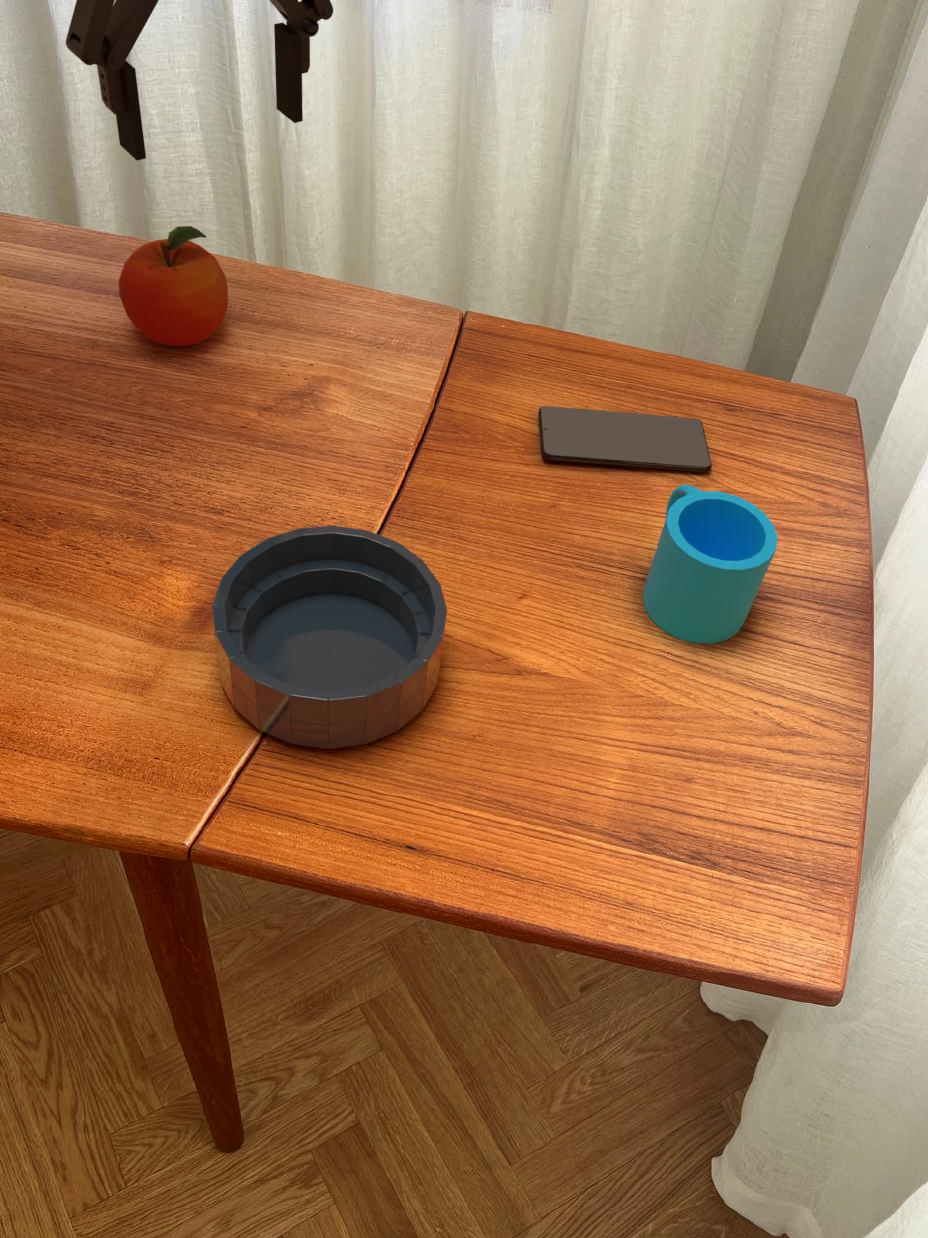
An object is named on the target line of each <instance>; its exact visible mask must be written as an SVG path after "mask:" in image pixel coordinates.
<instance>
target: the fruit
mask: <svg viewBox="0 0 928 1238" xmlns="http://www.w3.org/2000/svg"><path fill="white" fill-rule="evenodd" d="M199 238H207V236H206V234H204V233H203V232H202V231H201V230H199V229H198V228H196V227H193V225H192V226H191V225H180V226H179V225H178V226H176V227H175V228H173V229H172V230H170V231H169V232H168V236H167V238H162V239H156V240H153V241H150V242H147V243H144V244H143V245H141V246H139V247H137V249H135V250H134V252H132V254H130V256H129V257H128V258H127V259H126V260H125V262H124V265H123V266H122V270H121V273H120V276H119V278H118V294H119V298H120V300H121V304H122V306H123V309H124V312H125V314H126V316H127V317H128V319H129V320H130V322H131V323H132V325H133V326H134V327H135V328H136V329H137V330H138V331H140V332H141V333H142V334H143V335H144V336H145V337H147V338H148V339H149V340H151V341H153V342H155V343H157V344H160V345H164V346H170V347H186V346H192V345H196V344H199V343H201V342H204V341H206V340H207V339H209V338H210V337H211V336H212V335H214V333H215V332H216V331H217V330H218V329H219V328H220V326H221V324H222V322H223V321H224V318H225V316H226V313H227V311H228V305H229V304H228V303H229V302H228V301H229V287H228V282H227V277H226V274H225V272H224V271H223V269H222V267H221V266H220V264H219V261H218V260H217V258H216V256H214V255H213V254H212V253H210V252H209V251H208V250H207V249H205V248H204V247H203V246H201V245H200V244H197V243H196V242H194V241H193V240H194V239H195V240H196V239H199Z"/></svg>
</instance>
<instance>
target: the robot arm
mask: <svg viewBox="0 0 928 1238" xmlns="http://www.w3.org/2000/svg"><path fill="white" fill-rule="evenodd" d="M159 1H160V0H76V1H75V5H74V9H73V12H72V16H71V20H70V23H69V27H68V30H67V34H66V38H65V39H66V40H65V45H66V48H67V49H68V50H69V51H70V52H71V53H72V54H73V55H75V57H76V58H77V59H79V60H80V61H81V62H82V63H83V64H85V65H86V66H94V65H95V66H96V69H97V75H98V81H99V86H100V87H99V88H100V96H101V101H102V102H103V105H104V106H105V108H107V109H108V110H109V111H110V112H111V113H112V114H113V115H115V119H116V126H117V134H118V141H119V145H120V147H121V148H123V149H124V150H125V151H126V152H127V153H128V154H129V155H130V156H131V157H132V158H133V159H134V160H136V161H141V160H145V159H147V156H146V155H147V154H146V146H145V138H144V130H143V129H144V128H143V121H142V112H141V106H140V95H139V89H138V80H137V72H136V68H135V67H134V66H133V65H132V64H131V63H129V61H127V58H128V57H129V55H130V53H131V51H132V50H133V47H134V46H135V44H136V42H137V41H138V39H139V36H140V35H141V34H142V32H143V30H144V29H145V28H144V27H145V26H146V24H147V23H148V21H149V19H150V17H151V15H152V13H153V12H154V10H155V9H156V6H157V5H158V3H159ZM269 2H270V4H271V5H273V7H274V8H275V9H276V10H277V12H278V13H279V15H281V17H282V18H283V20H286V24H285V22H277V23H274V24H273V28H274V29H273V30H274V32H273V34H274V61H275V62H274V65H275V66H274V68H275V70H274V71H275V101H276V102H275V103H276V110H277V111H278V112H280V113H281V114H282V115H284V116H285V117H286V118H287V119H288V120H290V121H291V122H292V123H294V124H297V123H301V122H303V119H304V118H303V75H304V74H308V73H309V70H310V66H311V38H312V37H315V36H316V35H317V34H318V32H319V29H320V25H319V21H320V20H324V21H328V20H330V19H331V18H332V17H333V14H334V7H333V4H332V2H331V0H300V1H299V0H269Z"/></svg>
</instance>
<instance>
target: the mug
mask: <svg viewBox="0 0 928 1238" xmlns="http://www.w3.org/2000/svg"><path fill="white" fill-rule="evenodd" d="M665 511H666V512H665V521H664V524H663V527H662V530H661V533H660V537H659V540H658V543H657V546H656V549H655V551H654V554H653V558H652V562H651V564H650V568H649V571H648V574H647V578H646V579H645V583H644V587H643V591H642V596H641V597H642V601H643V606H644V610H645V612H646V613H647V614H648V616H649V618H650V619H651V621H652V622H653V623H654V624H656V626H658V627H659V628H660V629H661V630H662V631H663V632H665V633H667V634H669V635H671V636H673V637H674V638H676V639H678V640H681V641H685V642H689V643H693V644H700V645H701V644H702V645H703V644H706V645H712V644H713V645H714V644H717V643H721V642H725V641H728V640H729V639H731V638H732V637H734V636H736V635H737V634H738V633H739V631H741V629H742V627H743V625H744V624H745V622H746V621H747V618H748V615H749V613H750V610H751V608H752V606H753V604H754V602H755V599H756V597H757V594H758V593H759V590H760V587H761V585H762V583H763V581H764V578H765V576H766V573H767V572H768V569H769V567H770V564H771V562H772V560H773V558H774V556H775V553H776V551H777V546H778V539H779V537H778V534H777V530H776V528H775V525H774V523H773V522H772V521H771V519H770V518H769V517H768V515H767V514H766V512H764V511H762V510H761V508H759V507H757V506H756V505H755V504H754V503H752V502H750V501H748V500H746V499H744V498H743V497H740V496H738V495H736V494H735V495H734V494H732V493H727V492H724V491H723V492H722V491H715V490H713V491H712V490H701V489H699V488H698V487H696V486H694V485H691V484H690V485H689V484H681V485H679V486H678V487H676V488H675V489H673V490H672V492H671V494H670V496H669V498H668V500H667V505H666V510H665Z"/></svg>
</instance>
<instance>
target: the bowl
mask: <svg viewBox="0 0 928 1238" xmlns="http://www.w3.org/2000/svg"><path fill="white" fill-rule="evenodd" d="M211 607H212V609H211V610H212V618H213V628H214V630H213V631H214V638H215V646H216V655H217V656H216V657H217V664H218V674H219V681H220V685H221V686H222V688H223V690H224V692H225V694H226V696H227V698H228V700H229V701H230V703H231V705H232V706H233V708H234V710H236V711H237V712H238V713H239V714H240V715H241V716H243V717H244V718H245V719H246V720H247V721H248V722H249V723H250V724H252V726H254V727H255V728H256V729H257V730H259V731H261V732H263V733H265V734H267V735H270V736H272V737H274V738H277V739H279V740H282V741H284V742H285V743H289V744H292V745H296V746H304V747H311V748H317V749H318V748H319V749H324V750H325V749H338V748H339V749H340V748H345V747H346V748H347V747H354V746H355V747H356V746H363V745H367V744H369V743H372V742H374V741H377V740H380V739H381V738H384V737H387V736H390V735H391V734H393V733H396V732H398V731H399V730H401V728H403V727H404V726H405V725H407V724H408V723H409V722H410V721H411V720H412V719H414V718H415V717H416V716H417V715H419V714H420V713H421V712H422V711H423V710H424V708H425V706H426V705H427V704H428V702H429V700H430V698H431V697H432V694H433V693H434V691H435V690H436V688H437V686H438V682H439V677H440V669H441V662H442V656H443V647H444V639H445V632H446V631H445V630H446V623H447V615H448V607H447V604H446V600H445V595H444V593H443V588H442V585H441V583H440V581H439V580H438V579H437V577H436V576H435V575H434V573H433V572H432V570H431V569H430V568H429V566H428V565H427V563H425V561H424V560H423V559H422V558H421V557H420V556H418V555H416V554H415V553H414V552H412V551H411V550H410V549H408V548H407V547H406V546H404V545H403V544H402V543H400V542H398V541H396V540H394V539H391V538H388V537H386V536H383V535H381V534H378V533H375V532H373V531H370V530H366V529H360V528H355V527H354V528H353V527H347V526H346V527H345V526H339V525H324V526H322V525H321V526H311V527H300V528H295V529H292V530H289V531H286V532H282V533H280V534H277V535H273V536H270V537H268V538H266V539H264V540H262V541H261V542H260V543H258V544H256V545H254V546H253V547H251V548H250V549H248V550H246V551H245V552H243V553H242V554H240V556H239V557H238V558H237V559H236V560H235V561H234V562H233V564H232V565H231V566H230V567H229V568H228V570H227V571H226V572H225V573H224V575H222V577H221V579H220V581H219V584H218V587H217V590H216V593H215V596H214V598H213V602H212V606H211Z"/></svg>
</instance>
